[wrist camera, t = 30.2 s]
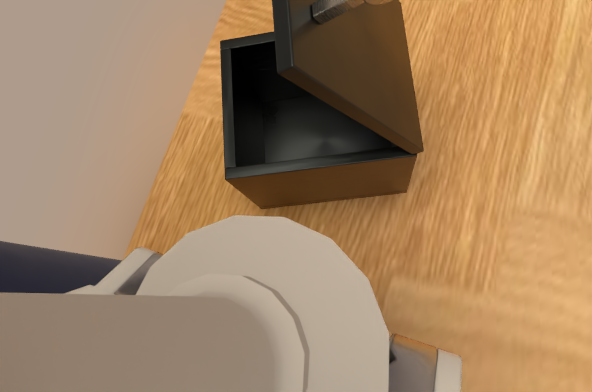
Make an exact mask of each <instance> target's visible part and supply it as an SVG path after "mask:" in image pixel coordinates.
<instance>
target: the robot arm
mask: <svg viewBox="0 0 592 392" xmlns="http://www.w3.org/2000/svg"><path fill="white" fill-rule="evenodd" d="M163 255H164V254H161V253H159V252H155V251H153V250H150V249H147V248H144V247H139V248H136V249H135V250H133V251H132V252H131V253H130V254H129V255H128V256H127V257H126V258H125V259H124V260H123V261H122V262H121V263H119V264H118V265H117V266H116V267H115V268H114V269H113V270H112V271H111V272H110V273H109V274H108V275H107V276H105V277H104V278H103V279H102V280H101V281H100V282H99V283H98V284H97V285H96V286H95V287H94V286H91V285H88V286H85V287H82V288H79V289H76V290H73V291H70V292H68V293H65V294H100V295H136V293H137V291H138V289H139V287H140V286H141V284H142V282H143V280H144V278H145V276H146V274H147V272H148V270H149V269H150V267H151V266H152V265H153V264H154V263H155V262H156V261H157V260H158V259H160V258H161V257H162V256H163ZM461 378H462V359H461V356H459V355H456V354H453V353H450V352H447V351H445V350H442V349H439V348H436V347H433V346H430V345H427V344H424V343H421V342H418V341H415V340H412V339H409V338H406V337H403V336H400V335H397V334H394V333H393V334H392V337H391V340H390V342H389V387H388V392H461Z"/></svg>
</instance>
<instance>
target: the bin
mask: <svg viewBox="0 0 592 392" xmlns="http://www.w3.org/2000/svg"><path fill="white" fill-rule="evenodd" d="M220 49H221V51H220V52H221V80H222V107H223V135H224V163H225V180H227V181H228V182H229V183H230V184H232V185H233V186H234V187H235V188H237V189H238V190H239V191H240V192H241V193H243V194H244V195H245V196H246V197H248V198H249V199H250V200H251V201H253V202H254V203H255V204H256V205H258V206H259V207H260V208H261V209H265V208H274V207H283V206H292V205H301V204H310V203H319V202H327V201H336V200H345V199H354V198H363V197H372V196H381V195H389V194H398V193H406V192H407V189H408V185H409V182H410V178H411V175H412V171H413V168H414V164H415V161H416V157H417V153H415V154H411V153H409V152H407V151H406V150H404V149H402V148H401V147H399V146H397V145H396V144H394V143H392V142H391V141H389V140H387V139H386V138H384V137H382V136H381V135H379V134H378V133H376V132H374V131H373V130H371V129H369V128H368V127H366V126H364V125H363V124H361V123H359V122H358V121H356V120H354V119H353V118H351V117H349V116H348V115H346V114H344V113H343V112H341V111H339V110H338V109H336V108H334V107H333V106H331V105H329V104H328V103H326V102H324V101H323V100H321V99H319V98H318V97H316V96H314V95H313V94H311V93H309V92H308V91H306V90H304V89H303V88H301V87H299V86H298V85H296V84H294V83H293V82H291V81H289V80H288V79H286V78H284V77H283V76H281V75H279V74H278V72H277V62H276V48H275V33H274V32H269V33H263V34H257V35H251V36H246V37H240V38H234V39H229V40H223V41H220Z"/></svg>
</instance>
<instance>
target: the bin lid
mask: <svg viewBox="0 0 592 392" xmlns="http://www.w3.org/2000/svg"><path fill="white" fill-rule="evenodd" d="M272 5H273V19H274V33H275V48H276V62H277V72H278V74H279V75H281V76H283V77H284V78H286V79H288V80H289V81H291V82H293V83H294V84H296V85H298V86H299V87H301V88H303V89H304V90H306V91H308V92H309V93H311V94H313V95H314V96H316V97H318V98H319V99H321V100H323V101H324V102H326V103H328V104H329V105H331V106H333V107H334V108H336V109H338V110H339V111H341V112H343V113H344V114H346V115H348V116H349V117H351V118H353V119H354V120H356V121H358V122H359V123H361V124H363V125H364V126H366V127H368V128H369V129H371V130H373V131H374V132H376V133H378V134H379V135H381V136H382V137H384V138H386V139H387V140H389V141H391V142H392V143H394V144H396V145H397V146H399V147H401V148H402V149H404V150H406V151H407V152H409V153H411V154H415V153H419V152H423V151H424V149H423V143H422V136H421V130H420V123H419V117H418V111H417V104H416V98H415V91H414V85H413V78H412V72H411V65H410V59H409V53H408V46H407V40H406V33H405V27H404V20H403V14H402V7H401V3H400V2H399V0H272Z"/></svg>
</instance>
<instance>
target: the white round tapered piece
mask: <svg viewBox="0 0 592 392" xmlns="http://www.w3.org/2000/svg"><path fill="white" fill-rule="evenodd" d="M388 387H389V332H388V330H387V327H386V324H385V322H384V319H383V316H382V314H381V311H380V308H379V306H378V303H377V300H376V298H375V295H374V293H373V290H372V287H371V285H370V282H369V279H368V278H367V277H366V276H365V275H364V274H363V273H362V272H361V271H360V269H359V268H358V267H357V266H356V265H355V264H354V263H353V262H352V261H351V260H350V259H349V257H348V256H347V255H346V254H345V253H344V252H343V251H342V250H341V249H340V248H339V247H338V246H337V244H336V243H335V242H334V241H333V240H332V239H331V238H329V237H327V236H324V235H322V234H320V233H318V232H316V231H314V230H311V229H309V228H307V227H305V226H303V225H301V224H299V223H296V222H294V221H292V220H290V219H288V218H286V217H273V216H243V215H234V216H231V217H229V218H226V219H223V220H221V221H218V222H215V223H213V224H210V225H207V226H205V227H202V228H199V229H197V230H194V231H191V232H189V233H187V234H186V235H185V236H184V237H183V238H182V239H181V240H180V241H178V242H177V243H176V244H175V245H174V246H173V247H172V248H171V249H170V250H168V251H167V252H166V253H165V254H164V255H163V256H162V257H161V258H160V259H158V260H157V261H156V262H155V263H154V264H153V265H152V266H151V267H150V269H149V270H148V272H147V274H146V276H145V278H144V280H143V282H142V284H141V286H140V287H139V289H138V291H137V293H136V295H100V294H46V293H0V392H388Z"/></svg>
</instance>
